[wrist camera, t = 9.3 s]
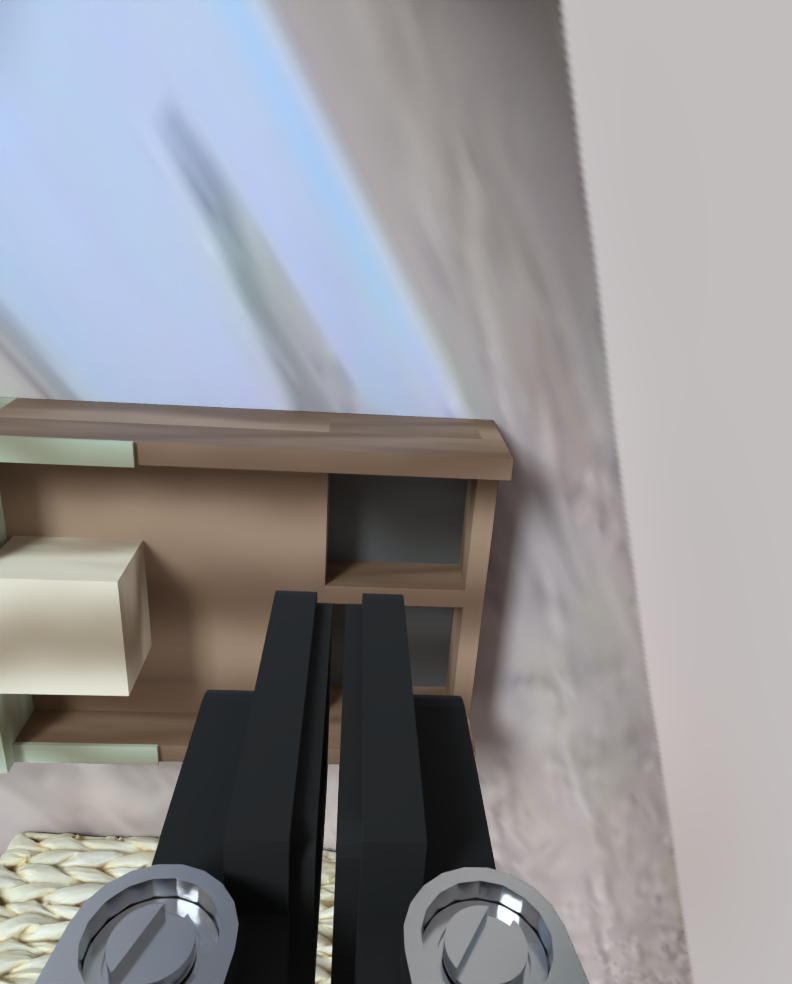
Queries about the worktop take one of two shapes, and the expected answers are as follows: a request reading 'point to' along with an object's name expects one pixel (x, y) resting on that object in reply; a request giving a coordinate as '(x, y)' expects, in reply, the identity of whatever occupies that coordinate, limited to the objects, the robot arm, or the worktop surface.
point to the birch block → (72, 615)
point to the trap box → (248, 547)
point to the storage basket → (89, 894)
